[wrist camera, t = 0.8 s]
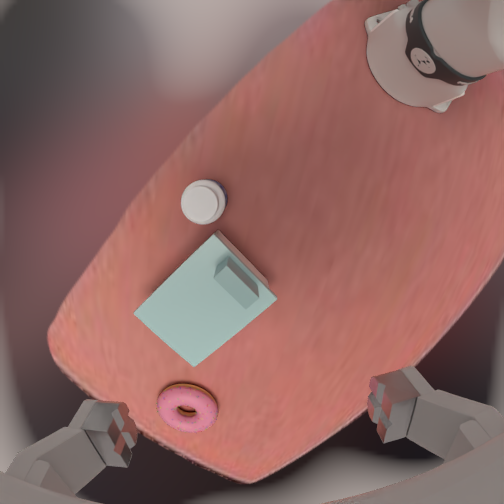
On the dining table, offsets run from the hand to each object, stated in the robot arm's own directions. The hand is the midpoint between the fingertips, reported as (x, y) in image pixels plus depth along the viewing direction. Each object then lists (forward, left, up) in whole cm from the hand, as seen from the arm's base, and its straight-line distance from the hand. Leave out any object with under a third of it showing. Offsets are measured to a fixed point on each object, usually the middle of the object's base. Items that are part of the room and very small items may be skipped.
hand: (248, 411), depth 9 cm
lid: (+10, +3, -29) cm, 30 cm away
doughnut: (+29, +16, -35) cm, 48 cm away
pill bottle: (+1, -6, -35) cm, 35 cm away
